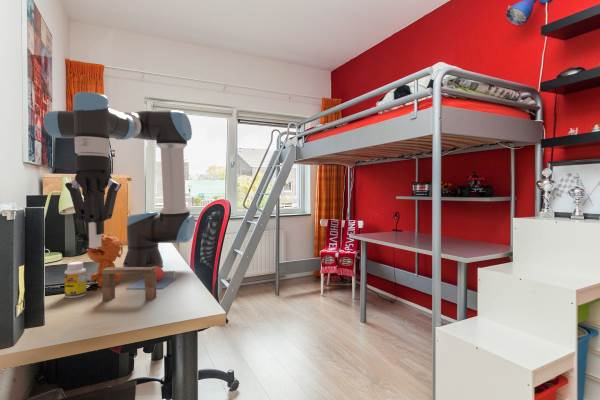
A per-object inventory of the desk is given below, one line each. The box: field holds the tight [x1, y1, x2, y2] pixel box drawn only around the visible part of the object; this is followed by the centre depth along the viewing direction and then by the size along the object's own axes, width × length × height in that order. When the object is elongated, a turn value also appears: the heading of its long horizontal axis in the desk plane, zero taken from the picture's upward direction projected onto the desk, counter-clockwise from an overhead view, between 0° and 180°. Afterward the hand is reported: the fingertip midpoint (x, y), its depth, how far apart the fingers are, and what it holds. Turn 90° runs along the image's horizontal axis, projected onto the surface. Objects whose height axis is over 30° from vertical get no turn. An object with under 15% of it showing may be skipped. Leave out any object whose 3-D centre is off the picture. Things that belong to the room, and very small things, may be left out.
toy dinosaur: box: [85, 233, 124, 288], centre depth 111 cm, size 11×11×18 cm
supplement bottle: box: [64, 261, 88, 299], centre depth 99 cm, size 6×6×10 cm
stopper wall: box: [162, 270, 176, 278], centre depth 119 cm, size 2×10×2 cm, turn 91°
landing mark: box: [125, 277, 177, 290], centre depth 112 cm, size 12×12×1 cm
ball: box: [154, 266, 164, 282], centre depth 114 cm, size 6×6×6 cm
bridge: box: [101, 266, 157, 302], centre depth 96 cm, size 3×14×9 cm, turn 91°
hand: (95, 247), depth 83 cm, fingers closed
